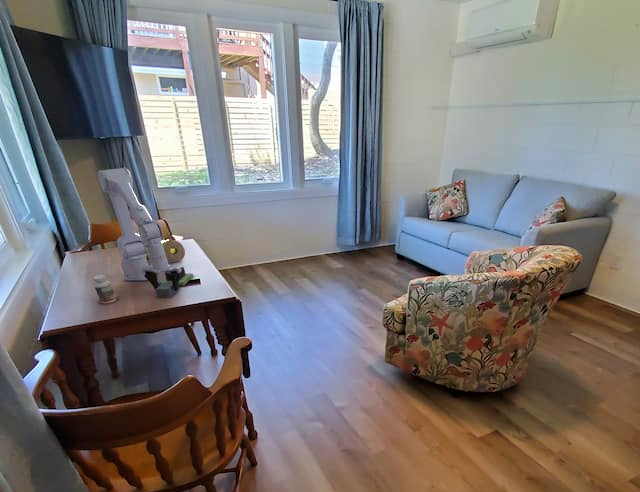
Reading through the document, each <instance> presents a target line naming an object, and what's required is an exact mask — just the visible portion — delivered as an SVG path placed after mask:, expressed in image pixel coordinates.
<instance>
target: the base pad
mask: <svg viewBox="0 0 640 492" xmlns="http://www.w3.org/2000/svg"><path fill="white" fill-rule="evenodd" d="M185 274H186V275H185V276H184V277H183V278H181V279H180V280H179V287H180V286H181V287H182V286H185V285H186V284H188V283H189V281H191V280H192V278H193V277H194V274H193V273H192V272H191V273H190V272H189V273H186V272H185ZM163 282H172V281H167V280H166V276H165V277H164V278H163V279H161V280H160V281H158V283H159V286H160V285H161V284H162V283H163Z"/></svg>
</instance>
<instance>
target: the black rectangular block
mask: <svg viewBox="0 0 640 492" xmlns="http://www.w3.org/2000/svg"><path fill="white" fill-rule="evenodd" d="M180 267H181V270H182V271H181V273H180V276H179V280H180V279H181V278H183V277H184V276H185V275H186V274H185V273H186V270H185V267H184V266H180ZM169 274H171V272H164V276H165V277H166V280H167V281H171V279H170V277H169Z"/></svg>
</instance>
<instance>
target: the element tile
mask: <svg viewBox="0 0 640 492" xmlns="http://www.w3.org/2000/svg"><path fill="white" fill-rule="evenodd" d="M167 240H168V239H166V240H165V239H164V240H161V241H162V243H163V242H165V241H167ZM170 252H171V253H175V249H174V248H171V249H170ZM146 255H147V256H146V260H147V259H149V256H148V253H147V254H146ZM149 260H150V259H149Z"/></svg>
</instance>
